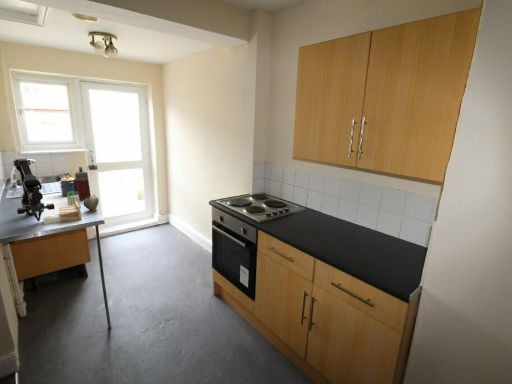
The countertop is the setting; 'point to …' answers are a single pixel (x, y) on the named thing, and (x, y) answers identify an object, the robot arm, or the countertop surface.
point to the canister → (67, 186)
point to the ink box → (72, 199)
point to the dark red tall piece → (82, 184)
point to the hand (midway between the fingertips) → (38, 221)
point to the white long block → (51, 219)
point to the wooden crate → (70, 212)
